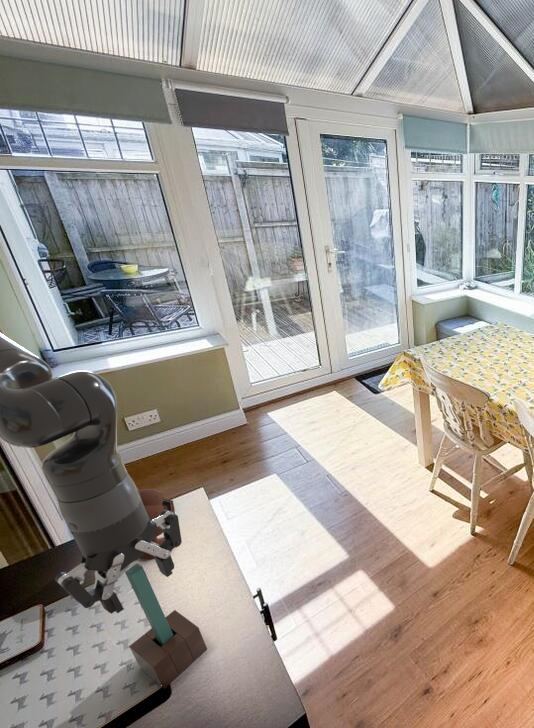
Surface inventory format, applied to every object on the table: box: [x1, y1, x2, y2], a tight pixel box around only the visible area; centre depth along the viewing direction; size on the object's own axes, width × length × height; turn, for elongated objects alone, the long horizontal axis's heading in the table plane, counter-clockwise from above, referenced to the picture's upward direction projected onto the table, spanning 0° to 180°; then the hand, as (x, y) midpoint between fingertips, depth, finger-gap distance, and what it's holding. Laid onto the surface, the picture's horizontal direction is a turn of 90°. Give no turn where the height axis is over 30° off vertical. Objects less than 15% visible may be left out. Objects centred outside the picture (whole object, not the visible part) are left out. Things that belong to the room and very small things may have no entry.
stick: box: [124, 563, 174, 646], centre depth 66 cm, size 2×2×22 cm
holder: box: [128, 609, 208, 690], centre depth 70 cm, size 7×7×6 cm
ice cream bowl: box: [138, 488, 176, 561], centre depth 87 cm, size 11×11×15 cm
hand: (142, 590), depth 64 cm, fingers open, 6 cm apart
